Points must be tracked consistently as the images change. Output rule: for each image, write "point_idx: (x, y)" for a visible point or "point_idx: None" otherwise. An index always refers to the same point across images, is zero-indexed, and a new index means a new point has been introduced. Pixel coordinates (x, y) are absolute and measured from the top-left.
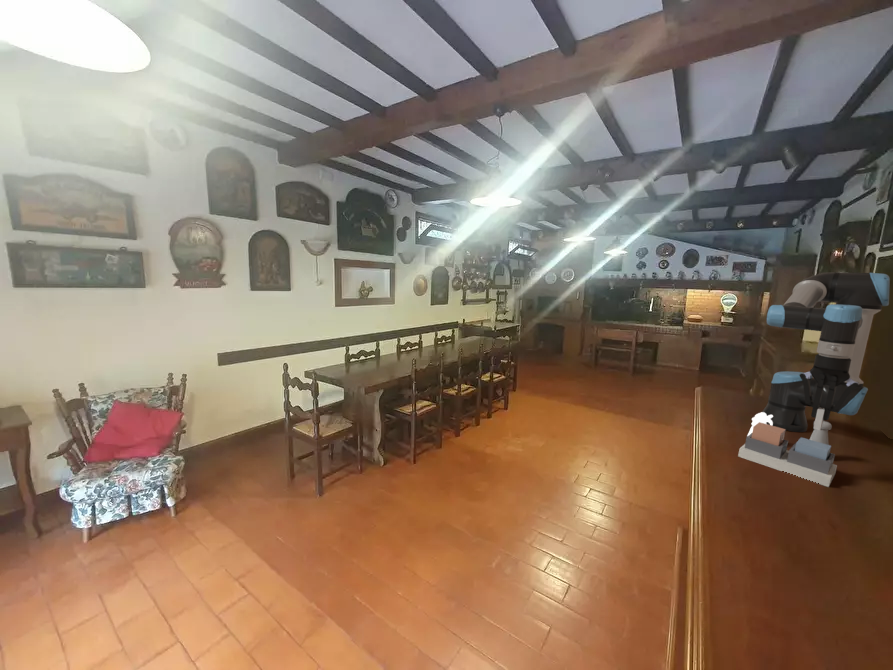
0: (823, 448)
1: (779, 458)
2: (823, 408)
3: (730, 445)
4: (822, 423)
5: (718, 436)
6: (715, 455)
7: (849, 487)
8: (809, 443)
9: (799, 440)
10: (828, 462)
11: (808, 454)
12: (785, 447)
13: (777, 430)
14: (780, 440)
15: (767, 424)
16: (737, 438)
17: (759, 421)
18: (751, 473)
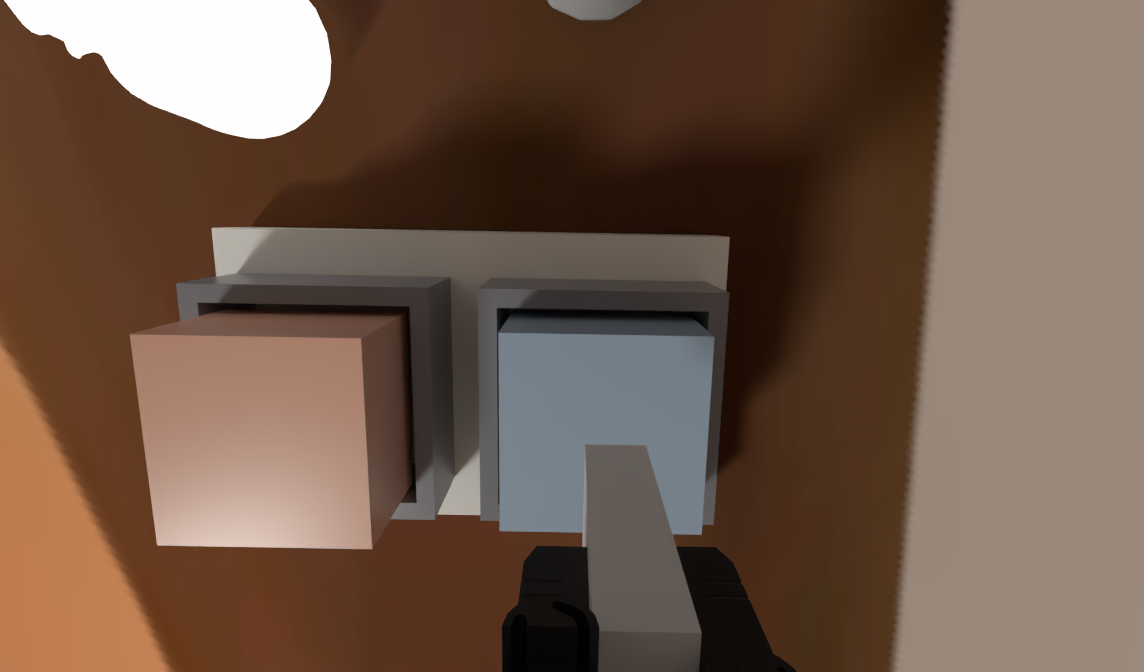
0: (671, 485)
1: (452, 480)
2: (665, 663)
3: (169, 323)
4: (654, 482)
5: (43, 207)
6: (191, 585)
7: (779, 389)
8: (576, 454)
9: (506, 446)
10: (703, 521)
11: None
12: (440, 356)
13: (323, 456)
14: (394, 457)
15: (205, 337)
16: (135, 110)
17: (99, 44)
18: (397, 658)
